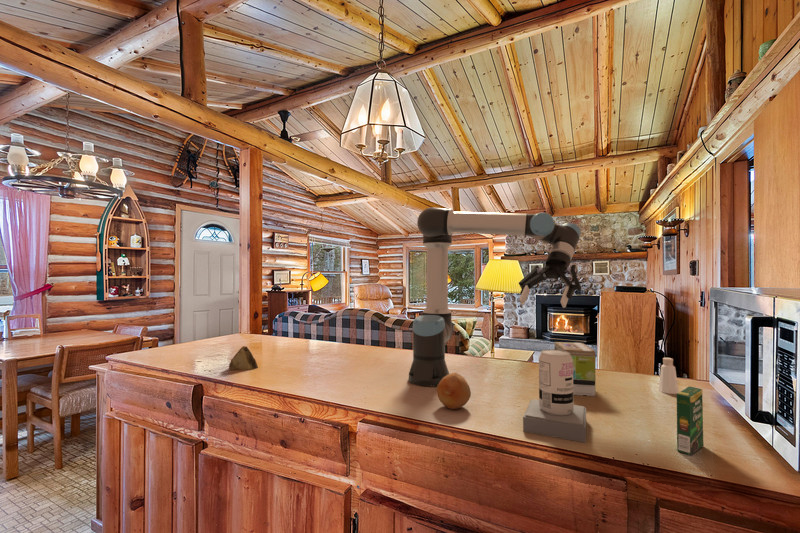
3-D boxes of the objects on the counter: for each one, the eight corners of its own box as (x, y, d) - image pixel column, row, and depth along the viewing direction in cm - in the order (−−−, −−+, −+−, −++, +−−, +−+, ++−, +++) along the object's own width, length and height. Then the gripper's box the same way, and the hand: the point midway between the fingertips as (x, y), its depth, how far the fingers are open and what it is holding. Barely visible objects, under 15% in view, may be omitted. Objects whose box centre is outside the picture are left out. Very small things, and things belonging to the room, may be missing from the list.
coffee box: (691, 457, 80) (690, 395, 80) (676, 451, 82) (675, 392, 82) (704, 446, 85) (703, 388, 85) (689, 442, 87) (688, 385, 87)
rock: (220, 364, 154) (235, 364, 148) (231, 346, 159) (245, 345, 153) (241, 375, 160) (255, 376, 155) (250, 357, 165) (264, 357, 160)
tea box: (597, 396, 119) (596, 350, 119) (563, 395, 121) (562, 349, 121) (583, 383, 133) (583, 341, 133) (553, 381, 135) (553, 340, 136)
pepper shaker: (657, 388, 127) (657, 355, 127) (677, 390, 124) (677, 357, 124) (659, 392, 122) (658, 359, 122) (679, 395, 119) (679, 360, 120)
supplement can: (544, 402, 102) (543, 348, 102) (576, 409, 97) (575, 351, 97) (535, 411, 95) (534, 353, 96) (570, 419, 91) (569, 357, 91)
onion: (435, 401, 115) (435, 369, 115) (468, 401, 115) (467, 369, 115) (437, 413, 105) (437, 378, 105) (473, 414, 105) (472, 378, 105)
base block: (523, 431, 93) (523, 415, 93) (531, 412, 106) (531, 398, 106) (585, 442, 87) (585, 425, 87) (586, 421, 99) (586, 406, 99)
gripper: (600, 264, 123) (585, 314, 113) (529, 266, 141) (510, 308, 130) (595, 248, 120) (578, 297, 109) (522, 251, 137) (502, 294, 127)
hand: (541, 303), depth 120 cm, fingers open, 13 cm apart
